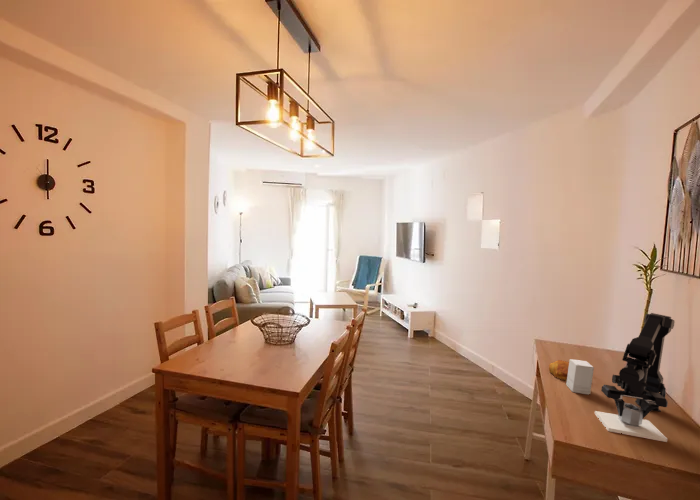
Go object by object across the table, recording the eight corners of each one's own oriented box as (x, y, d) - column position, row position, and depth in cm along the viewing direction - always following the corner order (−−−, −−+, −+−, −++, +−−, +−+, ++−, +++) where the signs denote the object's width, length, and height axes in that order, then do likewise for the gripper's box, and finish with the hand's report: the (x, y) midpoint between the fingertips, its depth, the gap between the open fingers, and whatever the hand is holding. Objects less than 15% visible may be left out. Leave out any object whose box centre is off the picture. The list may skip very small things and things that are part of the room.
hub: (635, 417, 134) (637, 404, 134) (644, 426, 128) (646, 413, 128) (615, 413, 136) (617, 401, 135) (624, 423, 130) (625, 410, 129)
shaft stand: (647, 423, 136) (650, 406, 135) (667, 442, 124) (670, 423, 124) (594, 413, 140) (596, 397, 140) (608, 431, 129) (610, 413, 128)
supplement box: (590, 395, 156) (594, 367, 155) (572, 392, 158) (575, 364, 156) (583, 387, 163) (587, 360, 162) (565, 384, 165) (569, 358, 163)
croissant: (551, 371, 184) (550, 356, 184) (587, 377, 174) (586, 361, 174) (545, 379, 173) (544, 363, 173) (583, 386, 163) (582, 369, 163)
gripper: (653, 372, 136) (647, 411, 138) (598, 364, 141) (592, 401, 142) (671, 385, 125) (664, 427, 127) (610, 376, 130) (605, 416, 131)
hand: (630, 417), depth 132 cm, fingers closed on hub, 6 cm apart
